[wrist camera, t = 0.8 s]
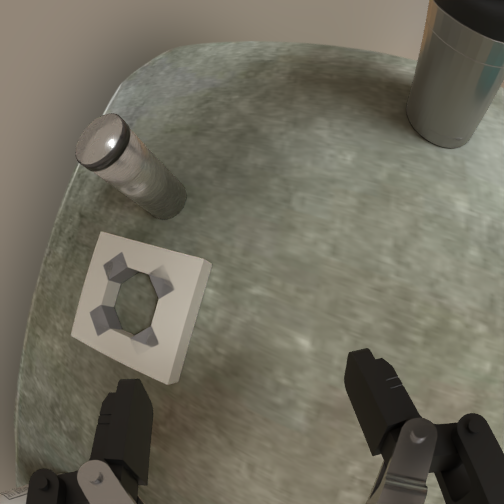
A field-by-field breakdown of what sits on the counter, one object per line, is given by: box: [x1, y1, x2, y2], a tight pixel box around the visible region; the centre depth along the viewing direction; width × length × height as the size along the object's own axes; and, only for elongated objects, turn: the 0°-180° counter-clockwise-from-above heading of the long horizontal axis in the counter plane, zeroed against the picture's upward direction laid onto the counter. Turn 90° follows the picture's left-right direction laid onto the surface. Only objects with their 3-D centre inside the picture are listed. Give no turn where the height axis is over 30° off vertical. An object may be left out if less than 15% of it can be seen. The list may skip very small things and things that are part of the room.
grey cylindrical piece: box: [76, 113, 187, 220], centre depth 30 cm, size 5×5×14 cm
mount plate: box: [71, 231, 212, 385], centre depth 33 cm, size 13×14×2 cm
